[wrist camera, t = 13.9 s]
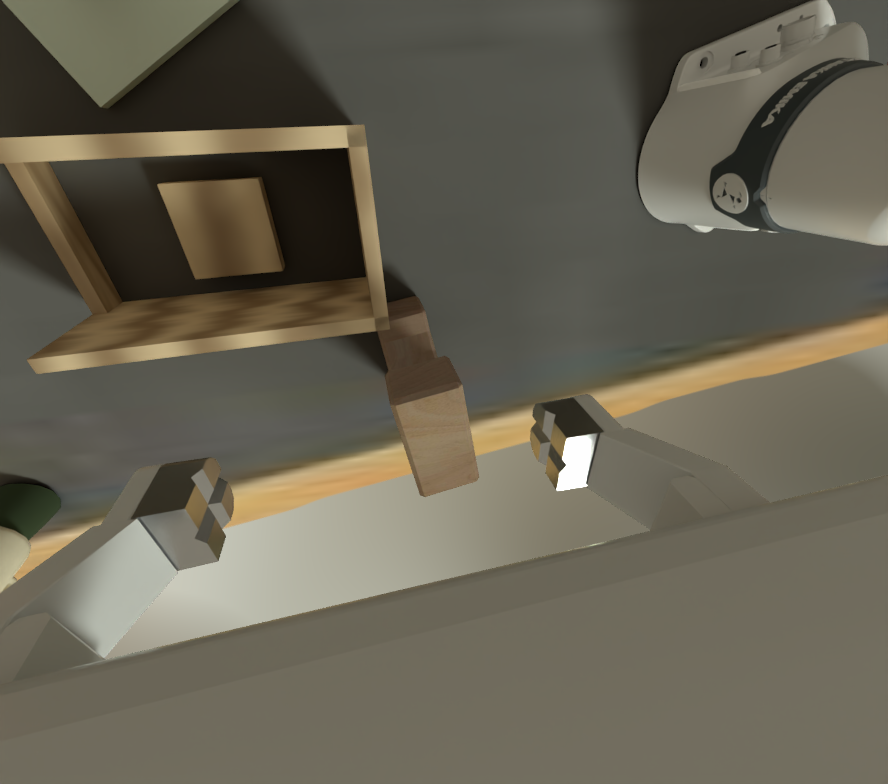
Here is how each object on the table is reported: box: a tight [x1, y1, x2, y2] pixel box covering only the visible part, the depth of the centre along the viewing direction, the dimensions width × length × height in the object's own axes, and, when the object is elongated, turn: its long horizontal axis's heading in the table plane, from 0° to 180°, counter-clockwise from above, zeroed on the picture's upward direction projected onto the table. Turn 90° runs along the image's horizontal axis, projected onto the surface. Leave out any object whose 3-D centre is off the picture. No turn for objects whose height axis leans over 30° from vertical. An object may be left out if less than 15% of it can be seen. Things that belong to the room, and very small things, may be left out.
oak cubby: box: [0, 125, 390, 374], centre depth 31 cm, size 26×14×12 cm, turn 92°
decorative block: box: [377, 296, 479, 497], centre depth 38 cm, size 11×6×20 cm, turn 9°
